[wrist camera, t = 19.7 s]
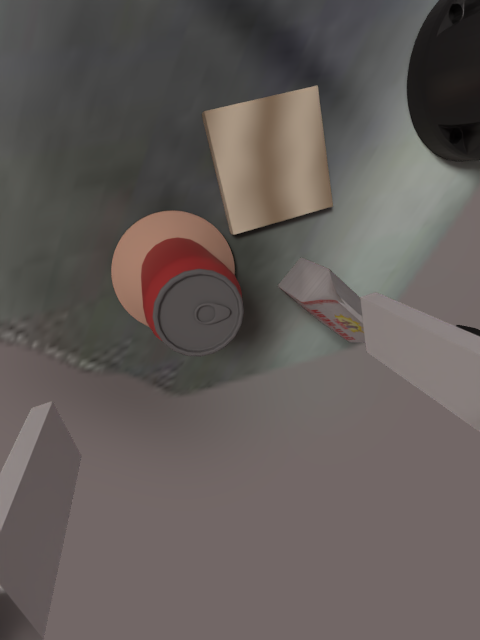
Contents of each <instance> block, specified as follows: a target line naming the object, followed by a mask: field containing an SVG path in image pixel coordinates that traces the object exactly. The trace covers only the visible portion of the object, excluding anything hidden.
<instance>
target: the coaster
mask: <svg viewBox="0 0 480 640" xmlns="http://www.w3.org/2000/svg"><path fill="white" fill-rule="evenodd" d="M177 237H179V238H186V239H191V240H193V241H195V242H197V243H199V244H201V245H202V246H203V247H204V248H205V249H207V250H208V251H209V252H210V253H211V254H213V255H214V256H215V257H216V258H217V259H219V260H220V261H221V262H222V263H223V264H224V265H225V266H226V267H227V268H228V269H229V270H230V271H231V272H232V273H233V274H234V275H235V266H234V259H233V255H232V252H231V249H230V247H229V245H228V243H227V241H226V240H225V238H224V237H223V235H222V234H221V233H220V232H219V231H218V230H217V229H216V228H215V227H214V226H213V225H212V224H210V223H209V222H208V221H206V220H204V219H203V218H201V217H199V216H196V215H194V214H191V213H188V212H183V211H174V210H170V211H161V212H156V213H153V214H150V215H147V216H145V217H143V218H141V219H140V220H138V221H137V222H135V223H134V224H133V225H132V226H131V227H130V228H129V229H128V230H127V231H126V232H125V233H124V234H123V236H122V237H121V239H120V241H119V242H118V245H117V247H116V249H115V252H114V256H113V260H112V267H111V272H112V282H113V286H114V290H115V293H116V295H117V297H118V299H119V301H120V302H121V304H122V305H123V307H124V308H125V309H126V310H127V312H128V313H129V314H130V315H132V316H133V317H134V318H135V319H137V320H138V321H139V322H141V323H143V324H145V325H147V326H149V325H148V324H147V322H146V318H145V314H144V310H143V301H142V286H141V269H142V264H143V261H144V259H145V257H146V255H147V253H148V252H149V251H150V250H151V249H152V248H153V247H154V246H155V245H156V244H158V243H160V242H162V241H164V240H166V239H171V238H177Z"/></svg>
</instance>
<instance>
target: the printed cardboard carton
mask: <svg viewBox="0 0 480 640" xmlns="http://www.w3.org/2000/svg"><path fill="white" fill-rule="evenodd" d="M278 287H279V288H281V289H282V290H283V291H284V292H285V293H287V294H288V295H289V296H290V297H291V298H293V299H294V300H295V301H296V302H298V303H299V304H300V305H301V306H302V307H304V308H305V309H306V310H307V311H308V312H310V313H311V314H312V315H313V316H314V317H316V318H317V319H318V320H319V321H320V322H322V323H323V324H325V325H326V326H327V327H329V328H330V329H332V330H333V331H334V332H336V333H337V334H339V335H340V336H341V337H343V338H344V339H346V340H347V341H348V342H364V343H365V335H364V326H363V317H362V308H361V299H360V297H359V296H358V295H357V294H356V293H354V292H353V291H352V290H351V289H350V288H349V287H348V286H347V285H346V284H345V283H344V282H343V281H342V280H341V279H339V278H338V277H337V276H336V275H335V274H334V273H333V272H332V271H331V270H330V269H328V268H326V267H324V266H321V265H319V264H316V263H314V262H311V261H309V260H306V259H304V258H301V257H300V259H299V260H298V261H297V262H296V264H295V265H294V266H293V267H292V269H291V270H290V271H289V272H288V274H287V275H286V276H285V277H284V279H283V280H282V281H281V282H280V283H279V285H278Z"/></svg>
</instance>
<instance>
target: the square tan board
mask: <svg viewBox="0 0 480 640" xmlns="http://www.w3.org/2000/svg"><path fill="white" fill-rule="evenodd" d="M202 118H203V122H204V126H205V130H206V134H207V138H208V143H209V147H210V151H211V155H212V159H213V163H214V167H215V172H216V176H217V180H218V184H219V188H220V192H221V196H222V200H223V205H224V209H225V213H226V217H227V221H228V225H229V229H230V233H231V234H233V235H235V234H238V233H242V232H245V231H249V230H252V229H256V228H259V227H263V226H266V225H270V224H273V223H277V222H280V221H284V220H287V219H291V218H294V217H297V216H301V215H304V214H308V213H311V212H315V211H318V210H322V209H325V208H329V207H332V206H333V203H332V195H331V187H330V180H329V172H328V164H327V156H326V148H325V140H324V133H323V125H322V117H321V109H320V101H319V93H318V86H314V87H309V88H305V89H300V90H296V91H292V92H287V93H283V94H278V95H274V96H270V97H265V98H261V99H256V100H252V101H248V102H243V103H239V104H234V105H230V106H226V107H221V108H217V109H212V110H208V111H204V112H203V113H202Z"/></svg>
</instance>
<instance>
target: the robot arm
mask: <svg viewBox="0 0 480 640" xmlns="http://www.w3.org/2000/svg"><path fill="white" fill-rule="evenodd" d="M408 102H409V108H410V113H411V117H412V120H413V123H414V125H415V128H416V130H417V132H418V134H419V136H420V137H421V139H422V140H423V142H424V143H425V144H426V145H427V146H428V147H429V148H430V149H431V150H432V151H433V152H434V153H436V154H437V155H439V156H441V157H443V158H445V159H448V160H453V161H471V160H480V0H439V1H438V2H437V4H436V5H435V6H434V7H433V9H432V10H431V12H430V13H429V15H428V16H427V18H426V20H425V21H424V23H423V25H422V27H421V29H420V31H419V34H418V36H417V39H416V41H415V44H414V47H413V51H412V55H411V59H410V64H409V71H408ZM360 299H361V308H362V317H363V326H364V335H365V344H366V352H367V353H369V354H370V355H372V356H373V357H374V358H376V359H377V360H379V361H380V362H381V363H383V364H384V365H386V366H387V367H389V368H390V369H391V370H393V371H394V372H396V373H397V374H398V375H400V376H401V377H403V378H404V379H405V380H407V381H408V382H410V383H411V384H413V385H414V386H415V387H417V388H418V389H420V390H421V391H422V392H424V393H425V394H427V395H428V396H430V397H431V398H432V399H434V400H435V401H437V402H438V403H439V404H441V405H442V406H444V407H445V408H447V409H448V410H449V411H451V412H452V413H454V414H455V415H456V416H458V417H459V418H461V419H462V420H464V421H465V422H467V423H468V424H469V425H471V426H472V427H474V428H475V429H476V430H478V431H479V432H480V330H478V329H476V328H471V327H467V326H461V325H456V326H453V325H451V324H449V323H447V322H444V321H442V320H440V319H437V318H435V317H433V316H430V315H428V314H426V313H423V312H421V311H419V310H416V309H414V308H412V307H409V306H407V305H405V304H402V303H400V302H398V301H395V300H393V299H391V298H388V297H386V296H384V295H381V294H379V293H377V292H375V293H372V294H369V295H366V296H363V297H360ZM80 461H81V454H80V452H79V450H78V448H77V446H76V444H75V442H74V441H73V439H72V437H71V435H70V433H69V431H68V429H67V428H66V426H65V424H64V422H63V420H62V418H61V416H60V414H59V413H58V410H57V409H56V407H55V405H54V403H53V402H52V401H51V402H48V403H46V404H42V405H40V406H37V407H34V408H32V409H31V411H30V413H29V415H28V417H27V419H26V421H25V423H24V425H23V427H22V430H21V431H20V433H19V436H18V438H17V440H16V442H15V444H14V446H13V448H12V450H11V452H10V454H9V456H8V458H7V460H6V463H5V465H4V467H3V469H2V471H1V473H0V640H43V639H44V633H45V629H46V624H47V619H48V614H49V610H50V605H51V600H52V595H53V591H54V585H55V581H56V576H57V572H58V566H59V562H60V557H61V552H62V547H63V543H64V538H65V533H66V528H67V523H68V518H69V513H70V509H71V504H72V499H73V494H74V490H75V485H76V480H77V475H78V470H79V466H80Z"/></svg>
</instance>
